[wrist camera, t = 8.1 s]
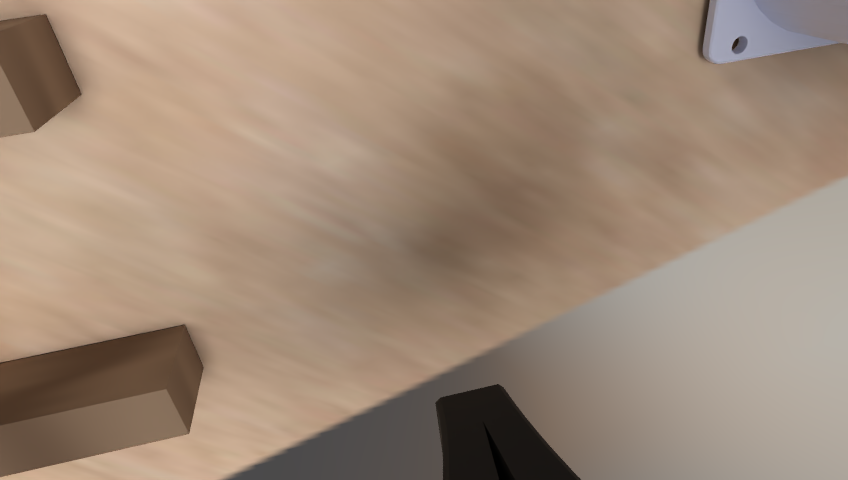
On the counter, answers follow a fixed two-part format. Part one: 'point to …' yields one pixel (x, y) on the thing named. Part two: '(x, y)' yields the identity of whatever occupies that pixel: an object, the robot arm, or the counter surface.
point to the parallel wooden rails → (93, 364)
